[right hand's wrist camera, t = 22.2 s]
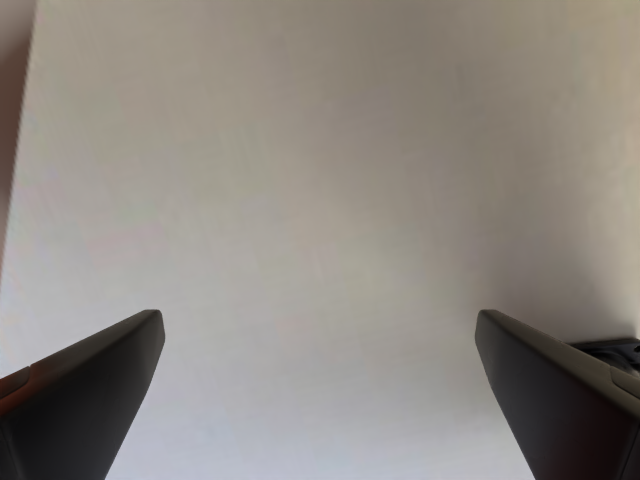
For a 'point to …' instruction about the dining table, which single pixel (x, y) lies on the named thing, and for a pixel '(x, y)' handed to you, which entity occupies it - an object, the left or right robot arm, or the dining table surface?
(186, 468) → the dining table surface
